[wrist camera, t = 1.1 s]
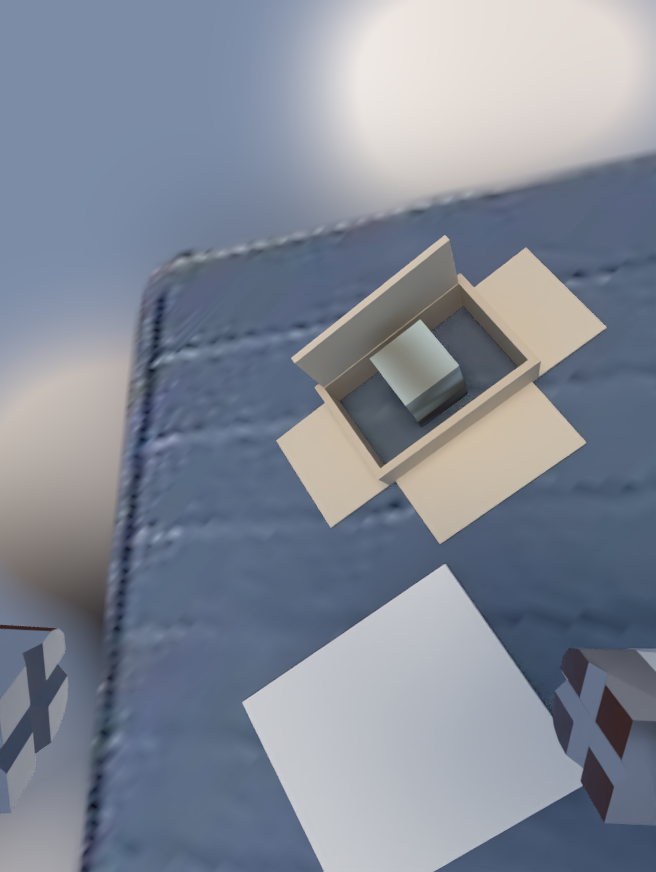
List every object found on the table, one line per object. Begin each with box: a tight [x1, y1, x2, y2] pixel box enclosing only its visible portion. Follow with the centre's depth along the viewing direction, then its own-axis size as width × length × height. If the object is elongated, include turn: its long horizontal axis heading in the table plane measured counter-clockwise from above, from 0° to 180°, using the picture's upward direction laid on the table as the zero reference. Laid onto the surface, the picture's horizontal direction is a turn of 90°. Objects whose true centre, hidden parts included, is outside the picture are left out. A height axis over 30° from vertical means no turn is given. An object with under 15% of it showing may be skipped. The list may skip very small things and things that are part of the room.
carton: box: [276, 235, 607, 544], centre depth 37 cm, size 26×15×10 cm, turn 123°
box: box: [370, 319, 468, 427], centre depth 40 cm, size 4×4×7 cm
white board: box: [242, 564, 583, 872], centre depth 38 cm, size 20×16×1 cm
